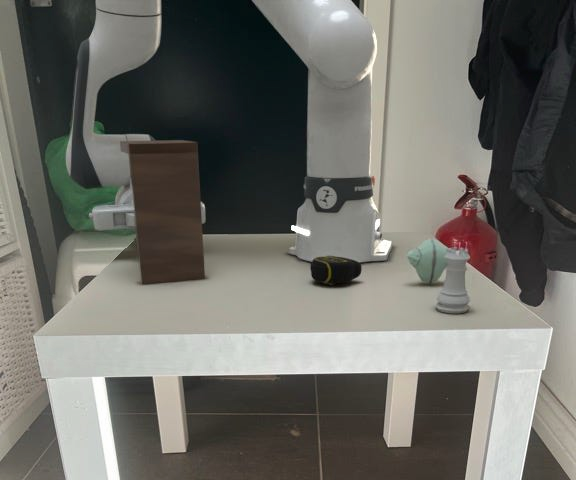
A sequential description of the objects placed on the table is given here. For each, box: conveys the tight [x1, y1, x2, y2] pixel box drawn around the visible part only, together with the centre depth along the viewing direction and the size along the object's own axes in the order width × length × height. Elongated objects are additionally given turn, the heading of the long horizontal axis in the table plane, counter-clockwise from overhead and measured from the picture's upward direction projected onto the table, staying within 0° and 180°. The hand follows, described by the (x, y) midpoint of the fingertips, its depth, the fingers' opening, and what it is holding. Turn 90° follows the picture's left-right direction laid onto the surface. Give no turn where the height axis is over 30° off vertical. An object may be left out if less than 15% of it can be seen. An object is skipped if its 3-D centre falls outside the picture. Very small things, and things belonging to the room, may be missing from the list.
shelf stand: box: [120, 139, 206, 285], centre depth 102 cm, size 11×10×20 cm
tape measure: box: [309, 256, 362, 286], centre depth 99 cm, size 7×7×4 cm
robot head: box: [406, 238, 448, 285], centre depth 97 cm, size 8×4×7 cm, turn 94°
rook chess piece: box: [435, 247, 471, 315], centre depth 84 cm, size 4×4×8 cm
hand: (155, 221), depth 111 cm, fingers closed on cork, 4 cm apart
